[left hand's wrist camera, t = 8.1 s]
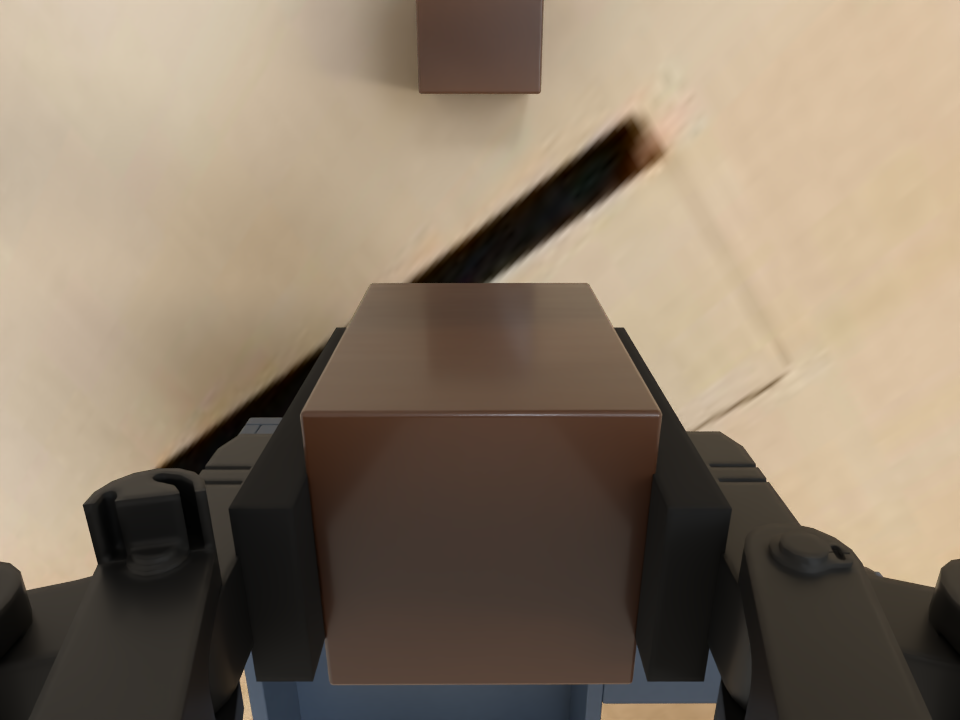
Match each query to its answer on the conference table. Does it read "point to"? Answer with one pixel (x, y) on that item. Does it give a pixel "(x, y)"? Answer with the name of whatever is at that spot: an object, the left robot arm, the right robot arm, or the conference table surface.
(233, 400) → the conference table surface
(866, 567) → the right robot arm
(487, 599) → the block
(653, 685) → the tray
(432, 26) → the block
